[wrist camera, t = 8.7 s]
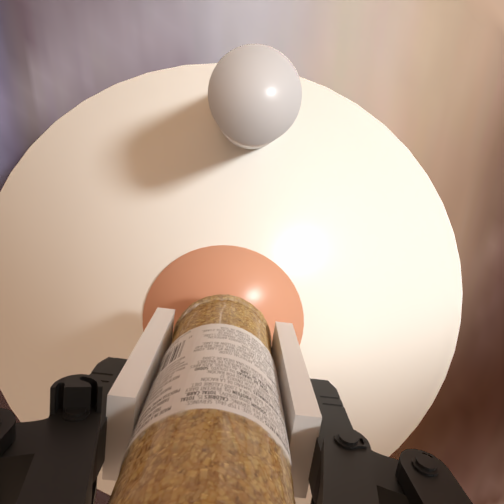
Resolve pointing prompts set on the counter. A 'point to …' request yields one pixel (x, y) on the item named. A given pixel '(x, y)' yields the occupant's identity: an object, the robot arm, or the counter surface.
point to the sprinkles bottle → (211, 416)
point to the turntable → (230, 236)
